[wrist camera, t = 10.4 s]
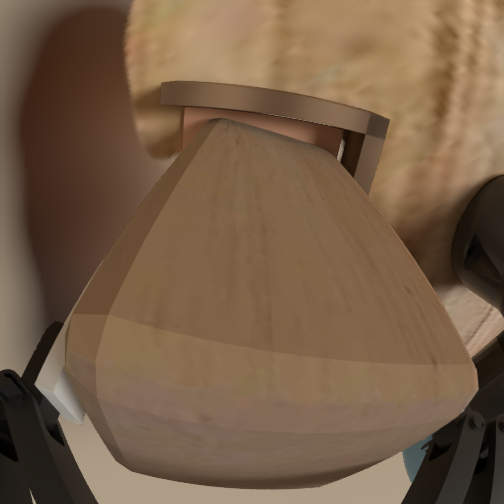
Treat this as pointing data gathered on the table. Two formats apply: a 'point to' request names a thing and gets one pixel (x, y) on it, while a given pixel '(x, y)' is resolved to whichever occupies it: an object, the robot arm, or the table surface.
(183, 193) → the block
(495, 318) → the table surface
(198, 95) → the arena
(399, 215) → the table surface
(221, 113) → the tile
